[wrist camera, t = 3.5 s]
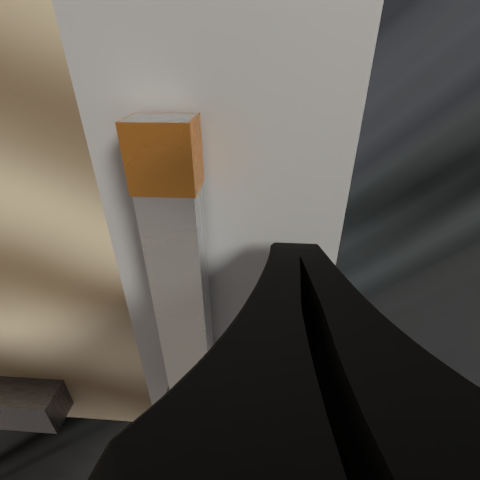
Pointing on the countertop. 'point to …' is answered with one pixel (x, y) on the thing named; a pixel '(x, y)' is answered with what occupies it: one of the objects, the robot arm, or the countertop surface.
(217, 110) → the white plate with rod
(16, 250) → the door panel
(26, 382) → the block
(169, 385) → the bar
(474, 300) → the countertop surface
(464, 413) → the robot arm
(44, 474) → the countertop surface
